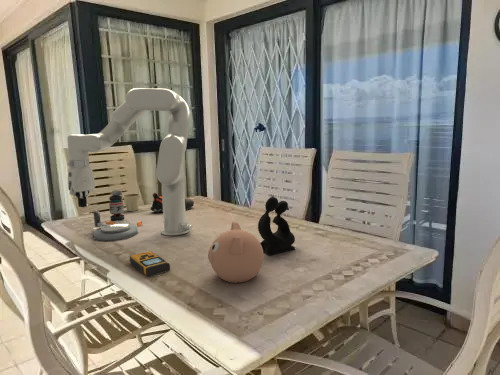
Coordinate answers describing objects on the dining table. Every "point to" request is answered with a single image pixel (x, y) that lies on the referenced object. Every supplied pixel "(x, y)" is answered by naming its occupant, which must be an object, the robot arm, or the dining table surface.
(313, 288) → the dining table surface
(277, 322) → the dining table surface
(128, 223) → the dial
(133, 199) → the flower pot
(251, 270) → the toy
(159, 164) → the robot arm
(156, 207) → the athletic shoe
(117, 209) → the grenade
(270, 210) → the figurine
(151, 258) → the electronic device
